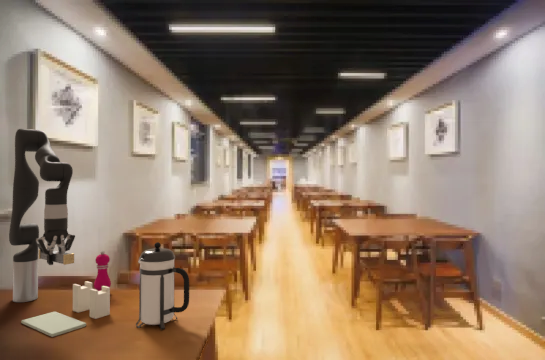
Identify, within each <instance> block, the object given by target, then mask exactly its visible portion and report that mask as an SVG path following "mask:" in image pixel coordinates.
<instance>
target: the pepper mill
mask: <svg viewBox="0 0 545 360" xmlns="http://www.w3.org/2000/svg"><path fill="white" fill-rule="evenodd" d="M95 257H96V258H95V263H96V264H97V265H96V269H97V274H96V277H95V280H94V282H93V289H95V290H98V291H101V290H102V286H107V287H110V288H111V286H112V285H111V284H112V281H111V278H110V276H109V274H108V268H109V263H110V260H111V258H110V256H109V255H108V254H106V252H105V250H100V254H98V255H96V256H95Z"/></svg>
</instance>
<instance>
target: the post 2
mask: <svg viewBox="0 0 545 360" xmlns="http://www.w3.org/2000/svg"><path fill="white" fill-rule="evenodd" d="M110 300H111V286H110V287H107V286H102V290H101V291H98V290H96V289H95V288H92V289H90V309H89V318H92V319H95V320H96V319H99V318H103V317H105V316H109V315H111V312H110V311H111V307H110V306H111V305H110V304H111V301H110Z"/></svg>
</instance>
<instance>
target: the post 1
mask: <svg viewBox="0 0 545 360" xmlns="http://www.w3.org/2000/svg"><path fill="white" fill-rule="evenodd" d="M90 289H93V282H91V281H88V280H87V281H84V285H82V286H81V284H77V283H72V312H74V313H75V312H76V313H81V312H85V311H90Z"/></svg>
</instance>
